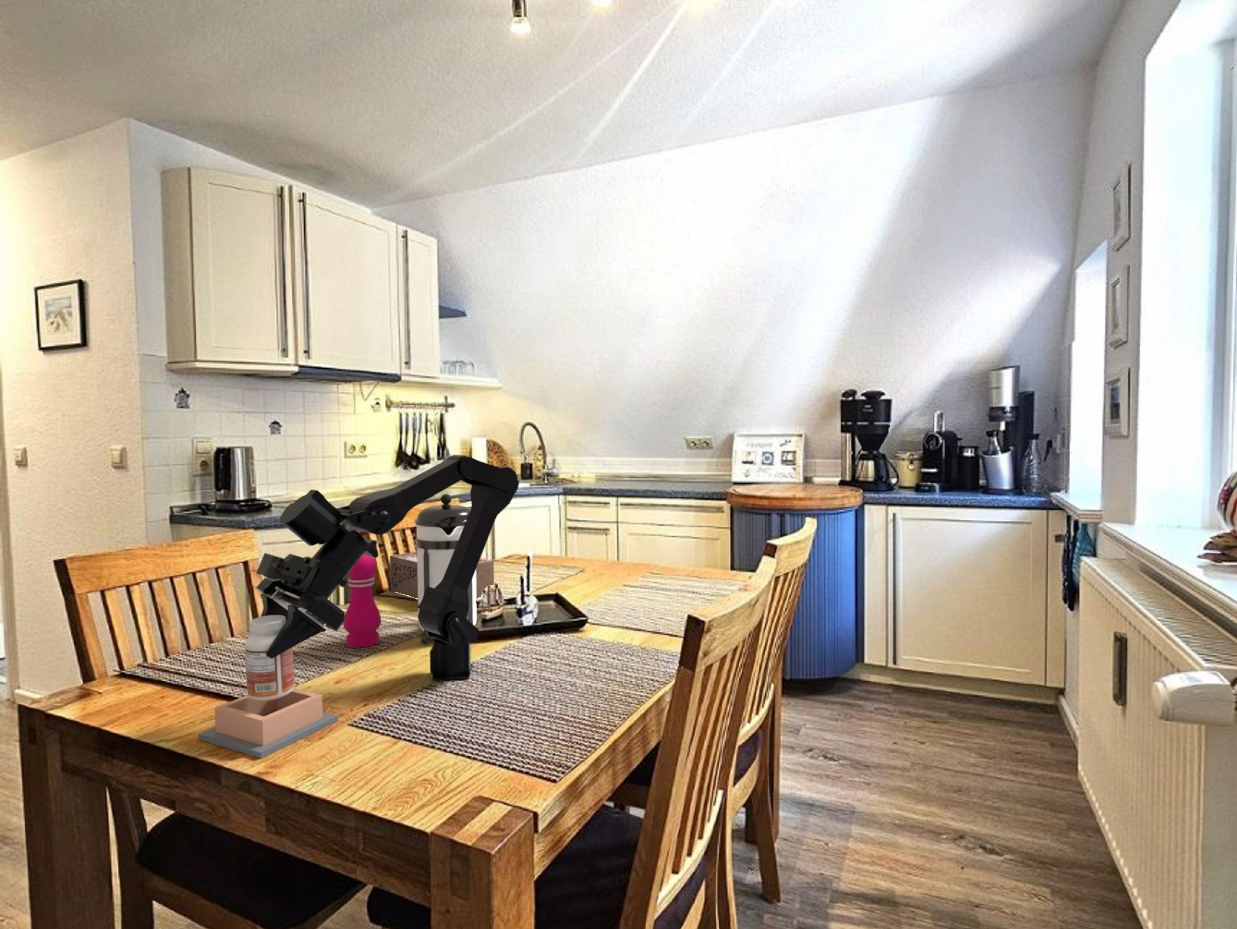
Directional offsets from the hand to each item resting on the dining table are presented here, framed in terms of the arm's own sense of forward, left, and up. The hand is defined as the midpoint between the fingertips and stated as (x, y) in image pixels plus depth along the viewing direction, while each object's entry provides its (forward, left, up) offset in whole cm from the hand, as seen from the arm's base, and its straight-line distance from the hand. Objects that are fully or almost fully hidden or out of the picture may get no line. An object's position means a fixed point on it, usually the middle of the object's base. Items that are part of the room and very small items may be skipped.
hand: (259, 651), depth 101 cm
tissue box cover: (-16, -79, -12) cm, 82 cm away
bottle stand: (-1, -1, -12) cm, 12 cm away
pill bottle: (-1, -1, -7) cm, 7 cm away
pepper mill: (-5, -41, -12) cm, 43 cm away
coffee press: (-21, -46, -12) cm, 52 cm away
